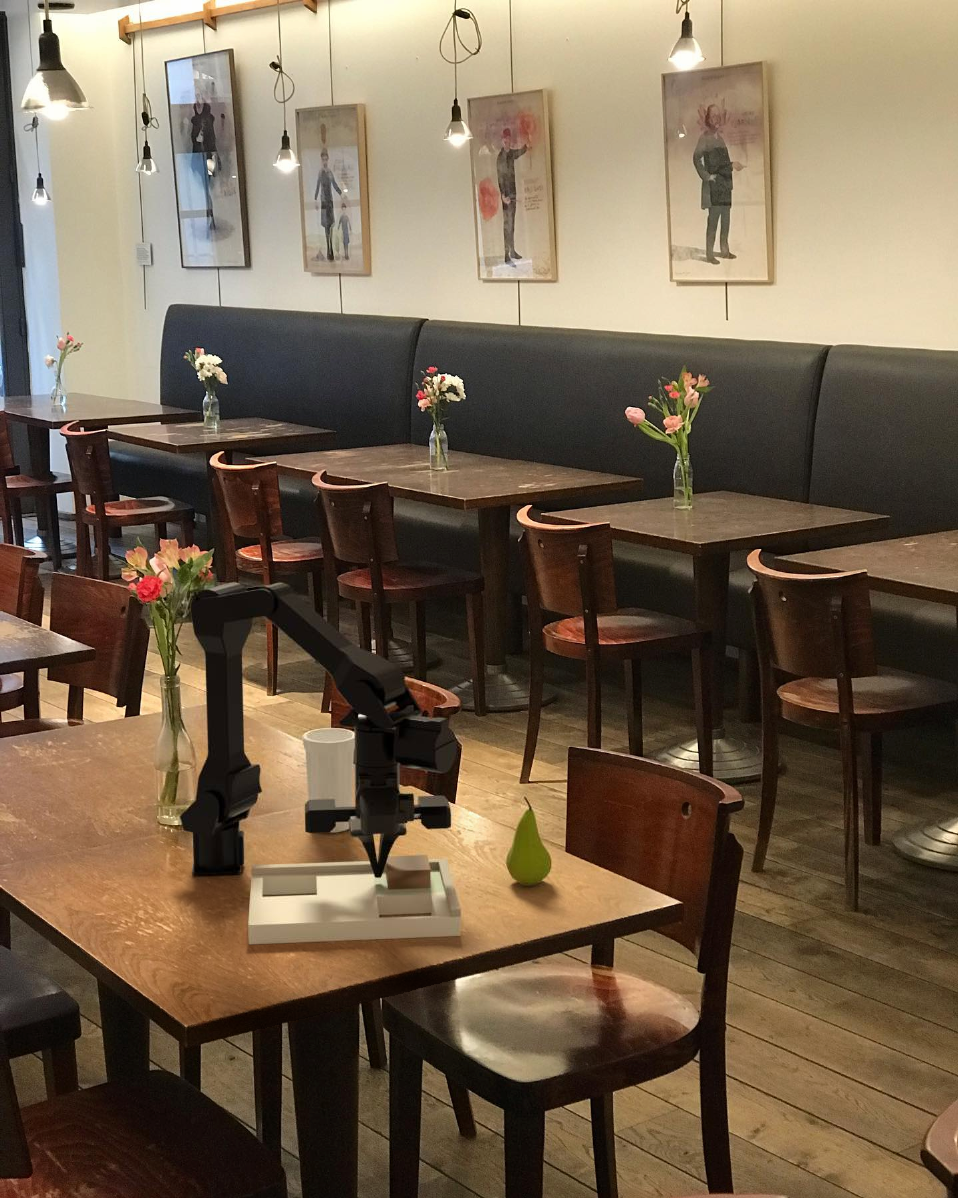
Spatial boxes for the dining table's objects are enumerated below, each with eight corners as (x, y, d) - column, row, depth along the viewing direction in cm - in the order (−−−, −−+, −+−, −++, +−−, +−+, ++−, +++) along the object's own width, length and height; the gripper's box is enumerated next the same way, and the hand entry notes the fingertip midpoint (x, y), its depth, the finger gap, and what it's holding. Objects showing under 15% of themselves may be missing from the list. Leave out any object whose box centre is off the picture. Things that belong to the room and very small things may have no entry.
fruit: (548, 893, 212) (549, 807, 210) (502, 890, 213) (502, 804, 211) (554, 876, 219) (555, 792, 216) (509, 873, 220) (510, 789, 217)
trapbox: (248, 944, 195) (248, 917, 195) (252, 890, 213) (251, 865, 212) (460, 936, 198) (460, 909, 197) (446, 883, 216) (446, 858, 215)
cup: (293, 833, 235) (291, 739, 232) (319, 816, 243) (317, 725, 240) (342, 840, 232) (341, 745, 230) (367, 823, 240) (366, 731, 237)
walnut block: (388, 889, 207) (387, 871, 206) (385, 874, 212) (385, 856, 211) (430, 888, 207) (430, 869, 207) (427, 872, 212) (427, 855, 212)
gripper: (304, 782, 197) (306, 902, 200) (455, 778, 199) (455, 897, 202) (303, 757, 208) (305, 871, 211) (447, 752, 210) (447, 866, 213)
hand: (378, 876), depth 209 cm, fingers closed
